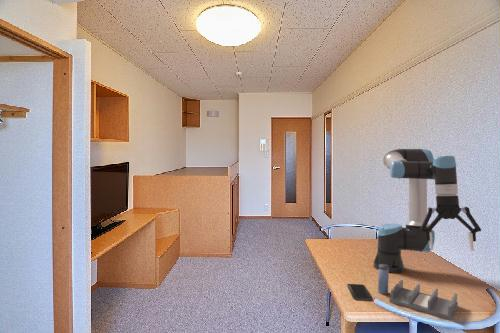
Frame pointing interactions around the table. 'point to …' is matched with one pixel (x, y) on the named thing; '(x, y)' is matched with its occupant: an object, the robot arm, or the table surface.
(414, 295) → the rack
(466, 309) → the table surface
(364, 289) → the phone
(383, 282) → the grey cylinder
